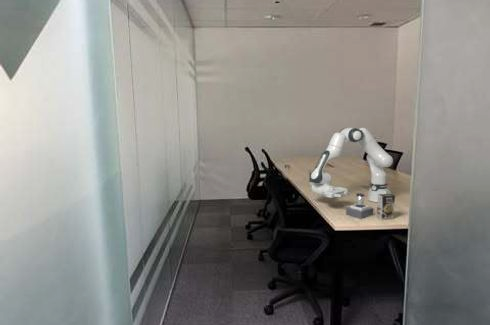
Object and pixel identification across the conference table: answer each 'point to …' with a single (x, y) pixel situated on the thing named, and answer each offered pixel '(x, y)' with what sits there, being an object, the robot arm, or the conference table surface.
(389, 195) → the coffee box
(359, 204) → the glass jar
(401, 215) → the conference table surface
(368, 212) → the grey white square holder
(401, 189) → the conference table surface
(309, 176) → the tea box
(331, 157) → the robot arm
